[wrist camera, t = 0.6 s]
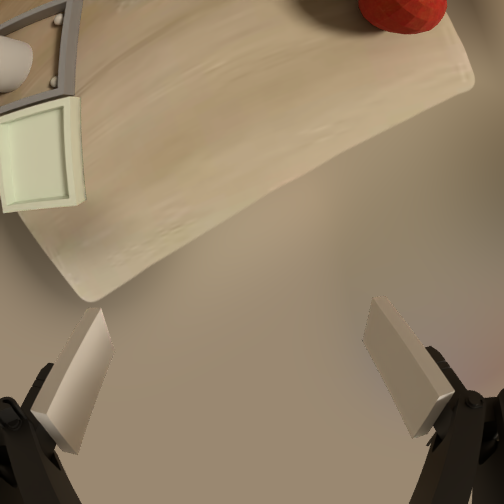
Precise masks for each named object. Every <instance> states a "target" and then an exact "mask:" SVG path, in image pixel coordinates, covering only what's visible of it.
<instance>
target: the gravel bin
mask: <svg viewBox="0 0 504 504" xmlns="http://www.w3.org/2000/svg"><path fill="white" fill-rule="evenodd" d="M82 5H83V0H54V1H51V2H48V3H46V4H43V5H41V6H39V7H36V8H34V9H32V10H29V11H27V12H25V13H23V14H21V15H19V16H16V17H14V18H12V19H10V20H8V21H6V22H4V23H3V24H1V25H0V36H6V35H8V34H10V33H12V32H14V31H16V30H18V29H20V28H23V27H25V26H27V25H29V24H32V23H34V22H37V21H39V20H42V19H44V18H47V17H49V16H52V15H55V14H57V13H60V12H63V11H65V14H58V15H57V16H56V17H55V18H54V23H55V24H56V25H61V24H63V28H62V36H61V45H60V56H59V69H58V76H55V77H53V78H52V79H51V82H50V84H51V86H52V87H58V88H57V89H53V90H49V91H46V92H42V93H39V94H36V95H33V96H29V97H26V98H23V99H20V100H17V101H15V102H12V103H9V104H6V105H4V106H1V107H0V117H1V116H4V115H7V114H10V113H13V112H16V111H19V110H22V109H25V108H28V107H32V106H35V105H39V104H42V103H46V102H49V101H53V100H57V99H61V98H65V97H69V96H74V95H75V69H76V54H77V43H78V34H79V25H80V18H81V11H82Z"/></svg>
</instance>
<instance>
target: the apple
mask: <svg viewBox="0 0 504 504" xmlns="http://www.w3.org/2000/svg"><path fill="white" fill-rule="evenodd" d="M358 7H359V9H360V11H361V13H362V15H363V17H364V18H365V19H367V20H368V21H369V22H370V23H371V24H372V25H374V26H376V27H378V28H380V29H382V30H385V31H388V32H393V33H400V34H417V33H421V32H425V31H429V30H431V29H432V28H434V27H435V26H436V25H437V24H438V23H439V22H440V21H441V19H442V18H443V16H444V14H445V11H446V9H447V0H358Z"/></svg>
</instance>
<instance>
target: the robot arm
mask: <svg viewBox="0 0 504 504" xmlns="http://www.w3.org/2000/svg"><path fill="white" fill-rule="evenodd" d="M362 341H363V343H364V345H365V347H366V349H367V350H368V352H369V354H370V356H371V358H372V360H373V361H374V364H375V366H376V367H377V369H378V371H379V373H380V375H381V377H382V379H383V381H384V383H385V384H386V387H387V389H388V391H389V392H390V395H391V397H392V398H393V400H394V402H395V404H396V406H397V408H398V411H399V413H400V415H401V417H402V419H403V420H404V422H405V425H406V427H407V429H408V431H409V433H410V435H411V437H412V439H414V438H417V437H420V436H423V435H425V434H427V433H428V432H429V431H430V429H431V428H432V426H434V428H435V430H436V432H435V434H434V435H433V436H432V438H431V439H430V440H429V442H428V443H427V445H426V446H429V445H430V443H431V446H430V449H429V452H428V455H427V458H426V461H425V464H424V467H423V469H422V472H421V475H420V478H419V480H418V483H417V485H416V488H415V490H414V493H413V495H412V497H411V500H410V502H409V504H468V501H469V498H470V494H471V490H472V504H504V389H502V390H501V391H500V393H499V394H498V396H497V397H489V398H483V396H482V395H480V394H479V393H478V392H475V391H471V390H468V391H467V389H466V388H465V387H464V385H463V384H462V382H461V381H460V380H459V378H458V377H457V375H456V374H455V373H454V371H453V370H452V369H451V368H450V366H449V364H448V363H447V362H446V361H445V359H444V358H443V356H442V355H441V354H440V352H438V351H437V350H436V349H434V348H433V347H431V346H429V347H424V346H423V344H422V343H421V342H420V341H419V339H418V338H417V336H416V335H415V334H414V333H413V331H412V330H411V328H410V327H409V326H408V324H407V323H406V322H405V321H404V319H403V318H402V316H401V315H400V314H399V313H398V311H397V310H396V309H395V308H394V306H393V305H392V304H391V302H390V301H389V300H388V299H387V297H386V296H383V297H373V298H372V302H371V307H370V311H369V315H368V319H367V324H366V328H365V332H364V336H363V340H362ZM114 352H115V349H114V346H113V344H112V341H111V338H110V335H109V332H108V329H107V325H106V322H105V319H104V316H103V313H102V309H101V308H87V310H86V311H85V313H84V315H83V316H82V318H81V320H80V321H79V323H78V325H77V326H76V328H75V329H74V331H73V333H72V334H71V336H70V338H69V339H68V341H67V343H66V344H65V346H64V348H63V349H62V351H61V353H60V355H59V356H58V358H57V360H56V362H55V364H53V363H48V364H47V365H46V366H45V367H44V368H42V369H41V371H40V372H39V374H38V376H37V378H36V380H35V381H34V383H33V385H32V386H33V387H31V389H30V390H29V393H28V394H27V396H26V398H25V400H24V402H23V404H22V406H21V408H20V407H19V405H18V404H17V402H16V401H15V400H14V399H13V398H11V397H3V398H1V399H0V504H82V503H81V502H80V500H79V498H78V496H77V494H76V493H75V491H74V489H73V487H72V485H71V483H70V481H69V479H68V477H67V475H66V473H65V471H64V469H63V466H62V464H61V462H60V460H59V457H58V455H57V453H56V452H55V450H54V449H55V446H56V444H57V445H58V446H59V448H60V449H61V450H62V451H64V452H68V453H72V454H76V455H78V453H79V450H80V447H81V444H82V440H83V437H84V434H85V431H86V428H87V425H88V422H89V419H90V416H91V413H92V410H93V408H94V405H95V402H96V399H97V396H98V393H99V391H100V388H101V386H102V383H103V380H104V378H105V375H106V373H107V370H108V367H109V365H110V362H111V360H112V357H113V355H114ZM472 487H473V488H472Z"/></svg>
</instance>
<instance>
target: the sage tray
mask: <svg viewBox="0 0 504 504" xmlns="http://www.w3.org/2000/svg"><path fill="white" fill-rule="evenodd" d="M0 196H1V202H2V208H3V213H8V212H17V211H26V210H35V209H45V208H55V207H67V206H77V205H79V204H80V203H82V202H84V201H85V200H86V192H85V183H84V172H83V159H82V141H81V98H80V97H72V96H69V97H65V98H61V99H57V100H53V101H49V102H46V103H42V104H39V105H35V106H32V107H28V108H25V109H22V110H19V111H16V112H13V113H10V114H7V115H4V116H1V117H0Z"/></svg>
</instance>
